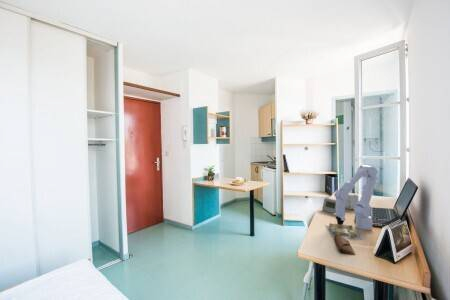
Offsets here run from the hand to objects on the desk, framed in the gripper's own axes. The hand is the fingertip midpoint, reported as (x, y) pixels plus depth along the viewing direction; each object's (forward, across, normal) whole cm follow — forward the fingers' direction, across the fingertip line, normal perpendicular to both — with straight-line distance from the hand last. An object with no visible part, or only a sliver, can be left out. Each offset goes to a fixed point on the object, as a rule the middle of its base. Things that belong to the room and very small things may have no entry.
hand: (339, 227), depth 152 cm
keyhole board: (+1, +6, 0) cm, 7 cm away
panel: (+1, +6, 0) cm, 6 cm away
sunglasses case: (+2, +26, -4) cm, 27 cm away
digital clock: (+2, -37, +3) cm, 37 cm away
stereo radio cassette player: (+2, -58, +20) cm, 61 cm away
